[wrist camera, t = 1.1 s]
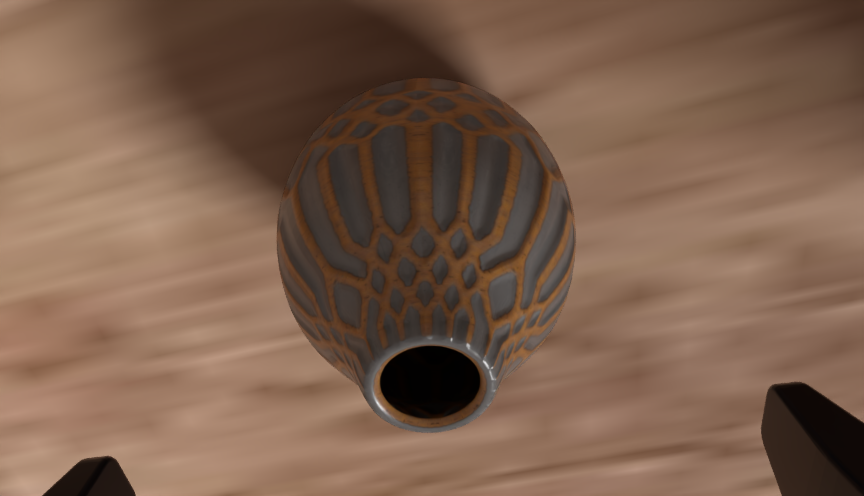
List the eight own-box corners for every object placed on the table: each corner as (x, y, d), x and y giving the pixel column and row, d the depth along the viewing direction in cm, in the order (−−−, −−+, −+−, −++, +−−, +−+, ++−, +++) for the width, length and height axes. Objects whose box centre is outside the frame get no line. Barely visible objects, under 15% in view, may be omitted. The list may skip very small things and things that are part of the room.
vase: (324, 277, 22) (278, 525, 14) (276, 57, 18) (181, 242, 11) (548, 257, 22) (617, 499, 14) (546, 30, 18) (639, 199, 10)
